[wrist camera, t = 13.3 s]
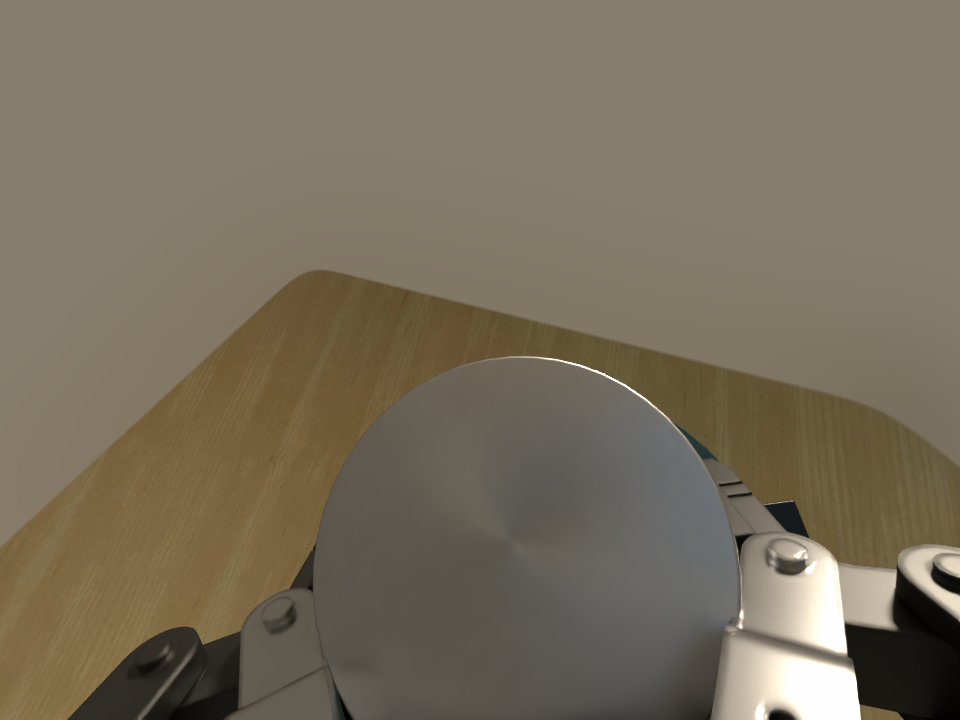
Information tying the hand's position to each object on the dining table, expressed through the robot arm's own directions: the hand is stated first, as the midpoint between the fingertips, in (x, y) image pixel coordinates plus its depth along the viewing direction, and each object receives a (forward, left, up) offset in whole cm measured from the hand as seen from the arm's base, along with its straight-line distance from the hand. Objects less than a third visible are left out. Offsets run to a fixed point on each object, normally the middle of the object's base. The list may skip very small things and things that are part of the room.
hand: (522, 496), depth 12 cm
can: (0, +2, -5) cm, 6 cm away
